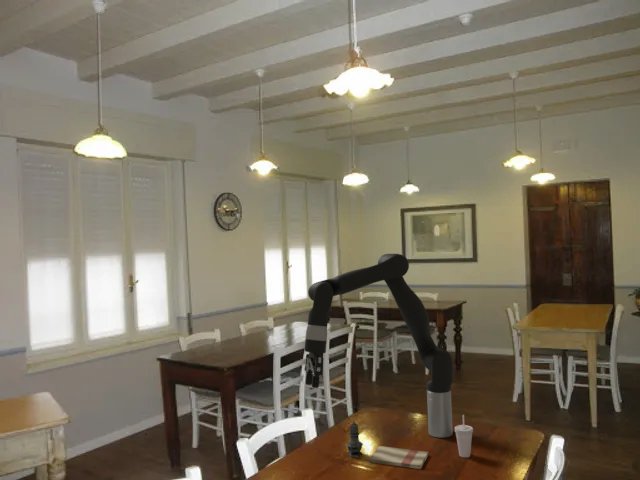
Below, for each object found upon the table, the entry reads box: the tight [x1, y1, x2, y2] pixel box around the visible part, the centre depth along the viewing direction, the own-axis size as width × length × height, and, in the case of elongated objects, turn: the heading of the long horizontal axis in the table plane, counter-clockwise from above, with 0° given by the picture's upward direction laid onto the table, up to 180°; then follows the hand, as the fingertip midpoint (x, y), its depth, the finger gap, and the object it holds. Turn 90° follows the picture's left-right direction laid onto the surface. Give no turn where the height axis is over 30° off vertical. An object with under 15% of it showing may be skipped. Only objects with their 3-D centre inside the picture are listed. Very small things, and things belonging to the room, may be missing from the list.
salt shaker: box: [346, 420, 364, 458], centre depth 195 cm, size 6×6×12 cm
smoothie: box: [454, 414, 474, 458], centre depth 190 cm, size 6×6×14 cm
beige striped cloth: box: [368, 445, 429, 470], centre depth 189 cm, size 12×18×1 cm, turn 66°
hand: (311, 386), depth 187 cm, fingers open, 8 cm apart
